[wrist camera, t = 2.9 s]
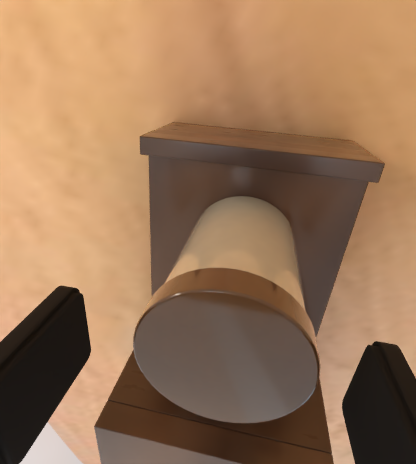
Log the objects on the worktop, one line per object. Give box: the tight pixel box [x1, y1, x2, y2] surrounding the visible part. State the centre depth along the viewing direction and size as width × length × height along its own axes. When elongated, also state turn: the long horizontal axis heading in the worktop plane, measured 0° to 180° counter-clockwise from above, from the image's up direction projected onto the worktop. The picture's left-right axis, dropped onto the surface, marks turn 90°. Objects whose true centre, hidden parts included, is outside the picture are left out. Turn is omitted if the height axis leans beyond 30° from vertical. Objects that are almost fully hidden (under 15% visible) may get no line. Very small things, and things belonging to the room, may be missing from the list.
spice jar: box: [133, 196, 320, 423], centre depth 12 cm, size 6×6×8 cm
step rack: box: [94, 122, 385, 464], centre depth 16 cm, size 10×23×13 cm, turn 175°
